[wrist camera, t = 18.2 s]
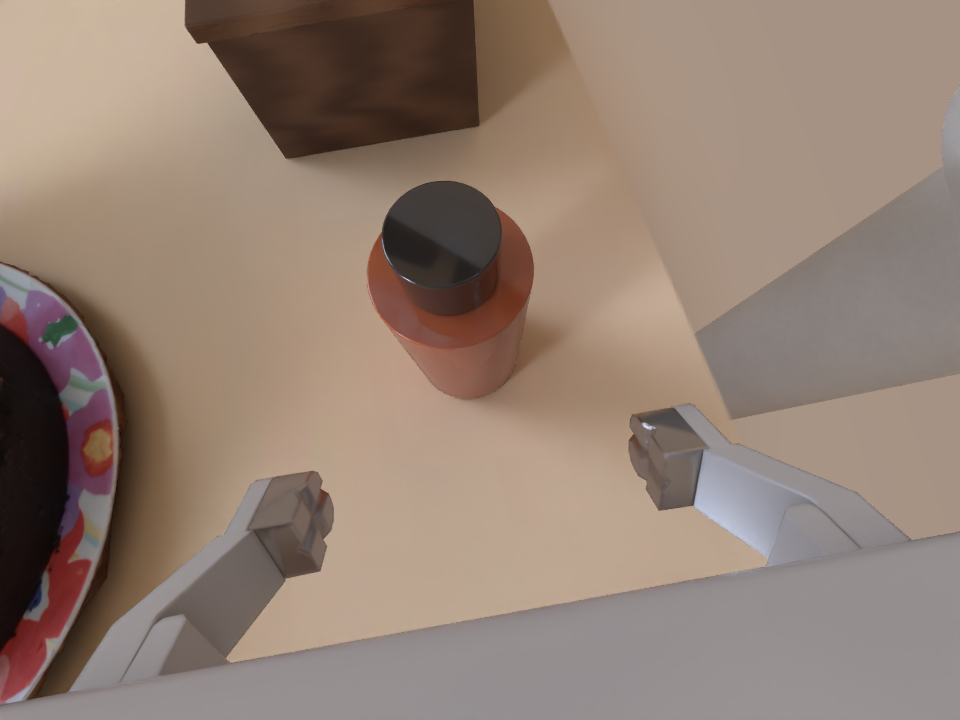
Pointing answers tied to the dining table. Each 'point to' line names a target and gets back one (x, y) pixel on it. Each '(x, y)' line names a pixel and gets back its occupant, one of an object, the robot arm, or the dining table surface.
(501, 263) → the orange bottle
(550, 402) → the dining table surface
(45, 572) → the chocolate cake
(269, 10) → the dark brown wooden box
